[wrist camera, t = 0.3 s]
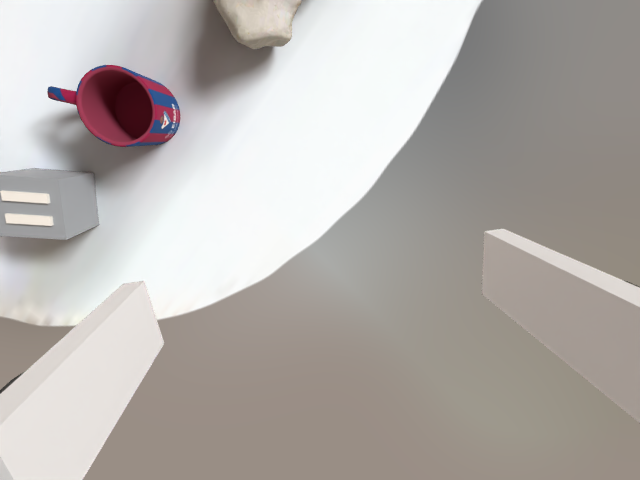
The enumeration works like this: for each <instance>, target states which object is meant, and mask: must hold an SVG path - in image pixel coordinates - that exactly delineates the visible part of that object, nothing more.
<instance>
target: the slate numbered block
mask: <svg viewBox="0 0 640 480" xmlns="http://www.w3.org/2000/svg"><path fill="white" fill-rule="evenodd" d="M98 225H99V219H98V209H97V200H96V191H95V181H94V173H88V172H76V171H64V170H51V169H39V168H33V169H24V170H16V171H8V172H0V236H9V237H27V238H44V239H61V240H67V239H69V238H72V237H74V236H76V235H78V234H80V233H82V232H85V231H87V230H89V229H91V228H93V227H95V226H98Z"/></svg>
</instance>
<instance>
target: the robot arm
mask: <svg viewBox="0 0 640 480" xmlns="http://www.w3.org/2000/svg"><path fill="white" fill-rule="evenodd" d="M482 295H484V296H485V297H486V298H487V299H488V300H490V301H491V302H492V303H493V304H495V305H496V306H497V307H498V308H499V309H501V310H502V311H503V312H504V313H506V314H507V315H508V316H509V317H510V318H512V319H513V320H514V321H515V322H517V323H518V324H519V325H520V326H521V327H523V328H524V329H525V330H526V331H528V332H529V333H530V334H531V335H532V336H534V337H535V338H536V339H537V340H539V341H540V342H541V343H542V344H543V345H545V346H546V347H547V348H548V349H550V350H551V351H552V352H553V353H555V354H556V355H557V356H558V357H559V358H561V359H562V360H563V361H564V362H565V363H567V364H568V365H569V366H570V367H572V368H573V369H574V370H575V371H576V372H578V373H579V374H580V375H582V376H583V377H584V378H585V379H586V380H587V381H589V382H590V383H591V384H592V385H594V386H595V387H596V388H597V389H598V390H600V391H601V392H602V393H603V394H605V395H606V396H607V397H608V398H609V399H611V400H612V401H613V402H615V403H616V404H617V405H618V406H619V407H620V408H622V409H623V410H624V411H625V412H627V413H628V414H629V415H630V416H632V417H633V418H634V419H635V420H636V421H638V422H639V423H640V287H639V286H637V285H634V284H632V283H630V282H627V281H623V280H620V279H618V278H616V277H614V276H611V275H609V274H607V273H604V272H602V271H600V270H598V269H595V268H593V267H590V266H588V265H586V264H584V263H581V262H579V261H577V260H574V259H572V258H570V257H567V256H565V255H562V254H561V253H558V252H556V251H554V250H551V249H549V248H546V247H544V246H542V245H540V244H537V243H535V242H533V241H530V240H528V239H526V238H523V237H521V236H519V235H517V234H514V233H512V232H510V231H507V230H505V229H498V230H491V231H485V232H484V256H483V279H482ZM163 344H164V342H163V338H162V335H161V332H160V329H159V326H158V323H157V319H156V316H155V313H154V310H153V307H152V304H151V300H150V297H149V294H148V291H147V288H146V285H145V282H144V281H140V282H133V283H126V284H123V285H121V286H120V287H119V288H118V289H117V290H116V291H115V292H114V293H113V294H111V295H110V296H109V297H108V298H107V299H106V300H105V301H104V302H102V303H101V304H100V305H99V306H98V307H97V308H96V309H95V310H94V311H92V312H91V313H90V314H89V315H88V316H87V317H86V318H85V319H83V320H82V321H81V322H80V323H79V324H78V325H77V326H76V327H75V328H73V329H72V330H71V331H70V332H69V333H68V334H67V335H66V336H64V337H63V338H62V339H61V340H60V341H59V342H58V343H57V344H56V345H55V346H53V347H52V348H51V349H50V350H49V351H48V352H47V353H46V354H44V355H43V356H42V357H41V358H40V359H39V360H38V361H37V362H36V363H34V364H33V365H32V366H31V367H30V368H29V369H28V370H26V371H25V372H23V373H22V374H20V375H19V376H17V377H15V378H14V379H12V380H11V381H10V382H9V383H8V384H7V385H6V386H4V387H3V388H2V389H1V390H0V480H82V479H83V478H84V476H85V475H86V473H87V471H88V469H89V468H90V466H91V465H92V463H93V461H94V460H95V458H96V456H97V454H98V453H99V451H100V450H101V448H102V446H103V444H104V443H105V441H106V439H107V437H108V436H109V434H110V432H111V431H112V429H113V428H114V426H115V424H116V423H117V421H118V419H119V418H120V416H121V414H122V413H123V411H124V409H125V408H126V406H127V404H128V403H129V401H130V399H131V398H132V396H133V394H134V393H135V391H136V389H137V388H138V386H139V384H140V383H141V381H142V379H143V377H144V376H145V374H146V373H147V371H148V369H149V368H150V366H151V364H152V363H153V361H154V359H155V358H156V356H157V354H158V353H159V351H160V349H161V348H162V346H163Z"/></svg>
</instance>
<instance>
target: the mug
mask: <svg viewBox="0 0 640 480" xmlns="http://www.w3.org/2000/svg"><path fill="white" fill-rule="evenodd" d="M48 97H49V98H50V99H53V100H57V101H61V102H66V103H70V104H75V105H76V106H77V109H78V113H79V115H80V118H81V120H82V121H83V123H84V125H85V126H86V127H87V129H88V130H89V131H90V132H91V133H92V134H93V135H94V136H96V137H97V138H98V139H100V140H102V141H103V142H106V143H108V144H111V145H114V146H120V147H128V146H145V145H158V144H162V143H164V142H167V141H168V140H169V139H171V138H172V137H173V136H174V135H175V133H176V131H177V130H178V127H179V123H180V110H179V106H178V104H177V101H176V99H175V97H174V96H173V95H172V93H171V92H170V91H169V90H168V89H167V88H166V87H165V86H163V85H162V84H160V83H158V82H156V81H154V80H152V79H150V78H147V77H145V76H142V75H140V74H138V73H135V72H133V71H131V70H128V69H126V68H123V67H120V66H115V65H103V66H99V67H96V68H94V69H92V70H90V71H89V72H88V73H86V74H85V75H84V77H83V78H82V79H81V81H80V83H79V85H78V88H77V92H76V91H71V90H65V89H61V88H56V87H52V86H51V87H48Z"/></svg>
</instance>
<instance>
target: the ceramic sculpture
mask: <svg viewBox="0 0 640 480" xmlns="http://www.w3.org/2000/svg"><path fill="white" fill-rule="evenodd" d="M301 1H302V0H214V1H213V2H214V4H215V6H216V7H217V9H218V12H219V14H220V16H221V17H222V18H223V19H224V20H225V22H226V24H227V26H228V28H229V30H230V32H231V34H232V36H233V37H234V38H235V39H236V41H238V42H239V43H240V44H243V45H246V46H247V47H249V48H252V49H259V48H262V47H264V46H277V47H281V46H284V45H285V44H287V43H288V42H289V41H290V39H291V37H292V20H293V18H294V15H295V13H296V11H297V8H298V6H299V5H300V4H301Z"/></svg>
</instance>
